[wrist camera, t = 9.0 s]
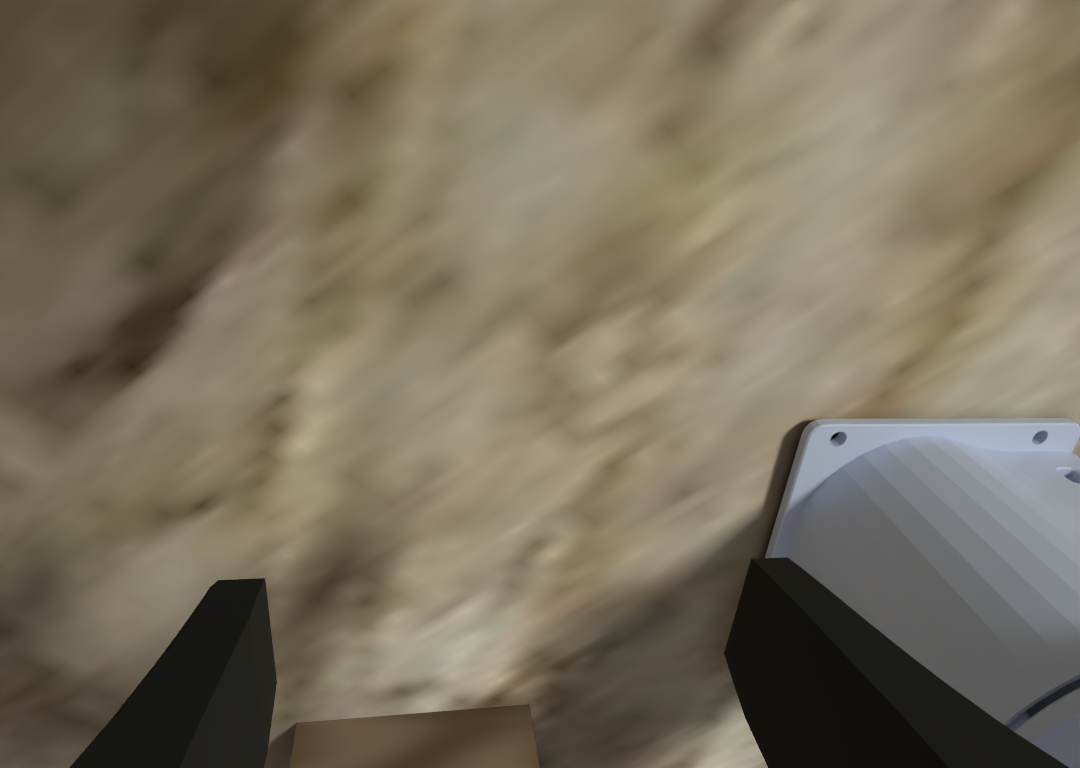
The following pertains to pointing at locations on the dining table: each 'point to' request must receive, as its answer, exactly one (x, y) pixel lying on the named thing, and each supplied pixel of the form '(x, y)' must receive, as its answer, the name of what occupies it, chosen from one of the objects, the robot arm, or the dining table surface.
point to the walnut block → (420, 740)
